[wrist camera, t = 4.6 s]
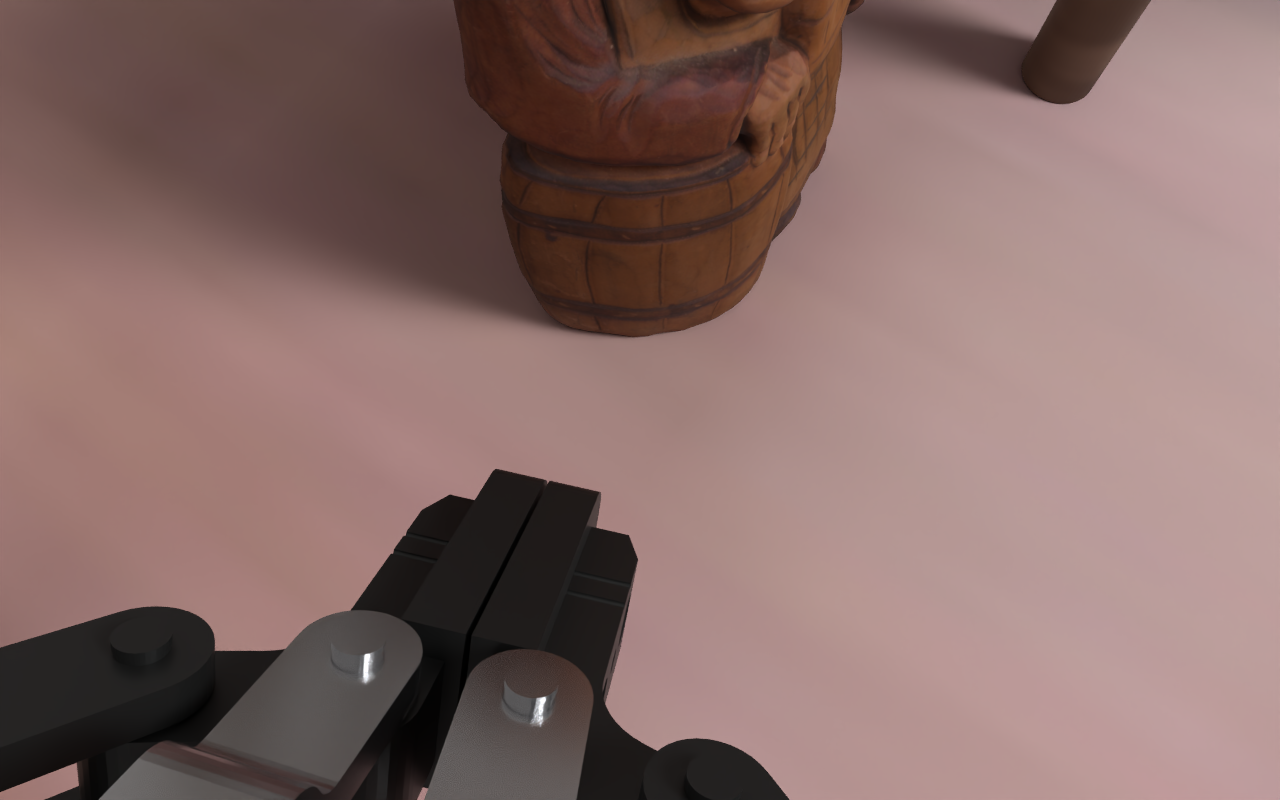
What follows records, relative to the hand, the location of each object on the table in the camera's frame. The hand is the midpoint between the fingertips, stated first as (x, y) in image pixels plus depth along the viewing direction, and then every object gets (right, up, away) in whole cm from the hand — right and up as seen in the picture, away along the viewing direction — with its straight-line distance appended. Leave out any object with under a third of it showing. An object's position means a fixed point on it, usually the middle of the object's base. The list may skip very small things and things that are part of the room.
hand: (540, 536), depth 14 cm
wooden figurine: (+3, +8, +18) cm, 20 cm away
